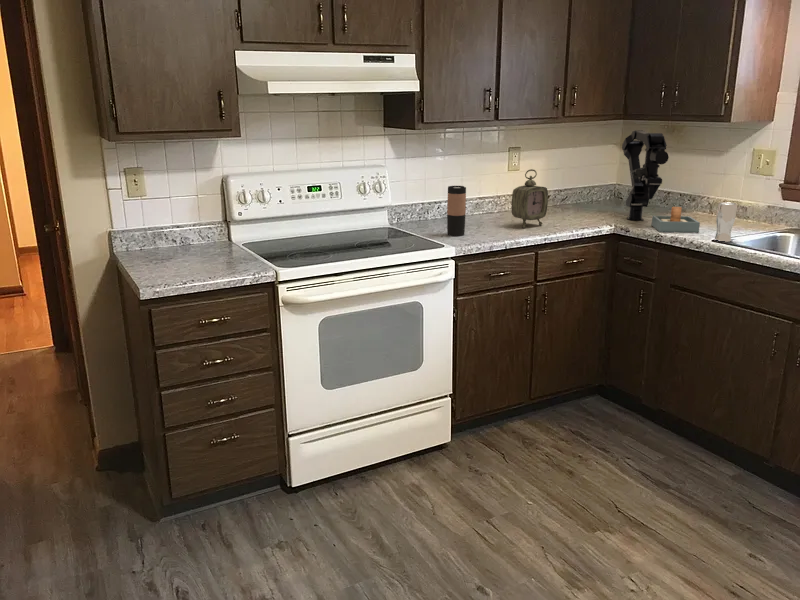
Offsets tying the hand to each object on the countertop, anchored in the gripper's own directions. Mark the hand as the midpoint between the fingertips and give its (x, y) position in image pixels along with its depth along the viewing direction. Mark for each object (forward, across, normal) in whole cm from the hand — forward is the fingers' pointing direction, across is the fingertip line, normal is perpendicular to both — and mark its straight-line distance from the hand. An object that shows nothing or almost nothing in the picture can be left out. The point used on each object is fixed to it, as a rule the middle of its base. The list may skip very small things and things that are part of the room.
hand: (648, 197), depth 305 cm
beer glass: (+12, +33, +23) cm, 42 cm away
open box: (+12, +10, +10) cm, 19 cm away
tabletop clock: (+12, +10, -53) cm, 55 cm away
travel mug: (+12, +33, -84) cm, 91 cm away
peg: (+12, +10, +10) cm, 18 cm away
